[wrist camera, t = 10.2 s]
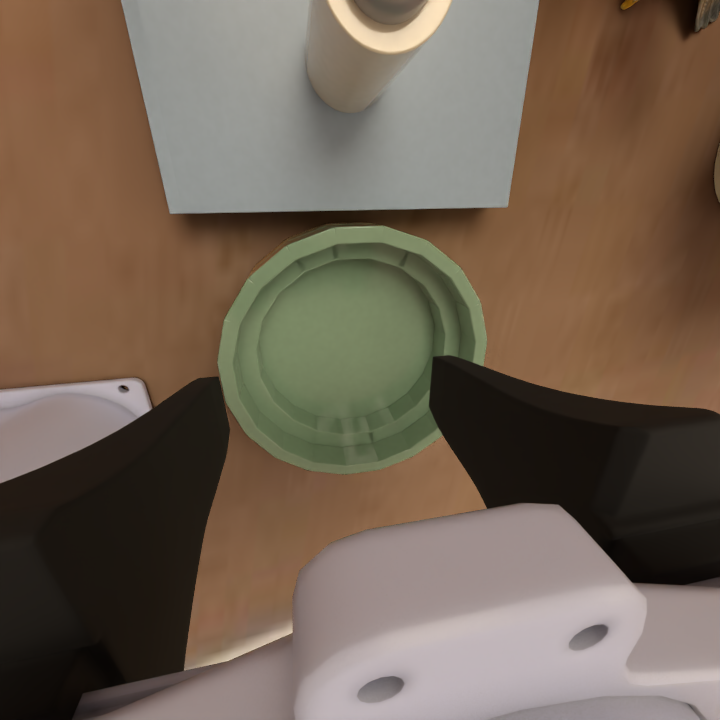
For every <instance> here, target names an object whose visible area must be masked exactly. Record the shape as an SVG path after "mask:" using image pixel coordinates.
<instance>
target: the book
mask: <svg viewBox="0 0 720 720" xmlns="http://www.w3.org/2000/svg"><path fill="white" fill-rule="evenodd" d="M121 2H122V7H123V11H124V15H125V20H126V24H127V29H128V33H129V37H130V42H131V46H132V50H133V55H134V59H135V63H136V68H137V72H138V77H139V81H140V85H141V90H142V94H143V98H144V103H145V107H146V112H147V116H148V120H149V125H150V129H151V133H152V138H153V142H154V146H155V151H156V155H157V160H158V164H159V168H160V173H161V177H162V181H163V186H164V190H165V194H166V199H167V203H168V208H169V212H170V214H194V213H246V212H297V211H349V210H400V209H452V208H503V207H508V201H509V194H510V188H511V181H512V175H513V168H514V162H515V155H516V149H517V142H518V136H519V129H520V123H521V116H522V110H523V103H524V97H525V90H526V84H527V77H528V70H529V64H530V57H531V51H532V44H533V38H534V31H535V25H536V18H537V12H538V5H539V0H452V3H451V5H450V8H449V10H448V12H447V15H446V16H445V18H444V20H443V22H442V24H441V25H440V26H439V28H438V29H437V31H436V32H435V33H434V34H433V35H432V37H431V38H430V39H429V40H428V41H427V43H426V44H425V45H424V46H423V47H422V48H421V50H420V51H419V52H418V53H417V54H416V56H415V57H414V58H413V59H412V60H411V61H410V63H409V64H408V65H407V66H406V67H405V69H404V70H403V71H402V72H401V73H400V74H399V76H398V77H397V78H396V79H395V80H394V82H393V83H392V84H391V85H390V86H389V87H388V89H387V90H386V91H385V92H384V93H383V95H382V96H381V97H380V98H379V99H378V100H377V101H376V102H375V104H373V105H372V106H371V107H369V108H368V109H366V110H364V111H361V112H357V113H344V112H340V111H337V110H335V109H333V108H332V107H330V106H328V105H327V104H326V103H325V102H324V101H323V100H322V99H321V98H320V97H319V96H318V94H317V93H316V92H315V90H314V88H313V87H312V85H311V82H310V80H309V77H308V74H307V71H306V66H305V58H304V49H305V38H306V28H307V17H308V6H309V0H121Z"/></svg>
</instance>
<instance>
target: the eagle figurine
mask: <svg viewBox="0 0 720 720" xmlns="http://www.w3.org/2000/svg"><path fill="white" fill-rule="evenodd" d="M637 1H639V0H625V2H624V3H622V4H621V9H623V10H625V9H627V8H629V7H630V6H632V5H633V4H634V3H636V2H637ZM719 11H720V0H699V4H698V11H697V15H696V19H695V28H694V31H695V32H697V31H698V30H699V29H700V28H702V29H705V28H706V27H707V25H708V23H709V21H710V22H714V21H715V20H716V19H717V18H718V15H719Z"/></svg>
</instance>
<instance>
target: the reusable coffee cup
mask: <svg viewBox="0 0 720 720" xmlns="http://www.w3.org/2000/svg"><path fill="white" fill-rule="evenodd" d="M714 183H715V191H716V194H717V197H718V200H719V202H720V145H719V148H718V152H717V157H716V161H715V171H714Z"/></svg>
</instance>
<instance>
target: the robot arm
mask: <svg viewBox="0 0 720 720" xmlns="http://www.w3.org/2000/svg"><path fill="white" fill-rule="evenodd" d="M121 385H125V386H127V387H128V389H129V390H125V389H123V388H122V387H121ZM429 408H430V411H431V413H432V415H433V418H434V420H435V422H436V424H437V426H438V428H439V430H440V431H441V433H442V435H443V436H444V438H445V439H446V441H447V442H448V444H449V445H450V447H451V448H452V450H453V451H454V453H455V455H456V456H457V458H458V459H459V461H460V462H461V464H462V465H463V467H464V468H465V470H466V471H467V473H468V474H469V476H470V477H471V479H472V481H473V482H474V484H475V486H476V487H477V489H478V491H479V493H480V495H481V497H482V499H483V501H484V503H485V505H486V507H487V509H483V510H477V511H472V512H466V513H460V514H454V515H448V516H443V517H437V518H431V519H425V520H420V521H414V522H408V523H402V524H396V525H391V526H385V527H379V528H373V529H367V530H364V531H361V532H358V533H355V534H353V535H350V536H347V537H344V538H342V539H339V540H336V541H333V542H331V543H330V544H328V545H327V546H326V547H325V548H324V549H323V550H322V551H321V552H320V553H318V554H317V555H316V556H315V557H314V558H313V559H312V560H311V561H310V562H308V563H307V564H306V565H305V566H304V567H303V568H302V569H301V570H300V571H299V575H298V578H297V582H296V586H295V590H294V594H293V633H292V634H289V635H287V636H285V637H282V638H280V639H278V640H275V641H273V642H271V643H269V644H266V645H264V646H262V647H259V648H257V649H255V650H252V651H250V652H248V653H246V654H243V655H241V656H239V657H236V658H234V659H232V660H229V661H227V662H222V663H218V664H213V665H209V666H204V667H200V668H195V669H190V670H186V671H184V663H185V654H186V647H187V639H188V632H189V625H190V618H191V610H192V603H193V597H194V590H195V584H196V578H197V572H198V565H199V560H200V554H201V549H202V543H203V538H204V532H205V528H206V524H207V520H208V516H209V513H210V509H211V506H212V503H213V499H214V496H215V493H216V489H217V486H218V483H219V479H220V476H221V473H222V469H223V466H224V462H225V458H226V454H227V448H228V440H229V432H230V428H229V423H228V418H227V414H226V409H225V404H224V400H223V395H222V390H221V385H220V381H219V376H218V377H207V378H198V379H196V380H194V381H192V382H191V383H189V384H188V385H186V386H185V387H183V388H182V389H180V390H179V391H178V392H176V393H175V394H173V395H172V396H170V397H169V398H168V399H166V400H165V401H163V402H162V403H160V404H159V405H158V406H156V407H155V408H152V405H151V402H150V399H149V396H148V392H147V389H146V386H145V384H144V382H143V381H142V380H141V379H139V378H123V379H111V380H100V381H89V382H78V383H67V384H56V385H45V386H33V387H22V388H11V389H0V720H720V414H718V413H716V412H714V411H711V410H707V409H700V408H685V407H669V406H654V405H643V404H635V403H626V402H618V401H611V400H604V399H598V398H592V397H587V396H581V395H576V394H571V393H567V392H562V391H558V390H554V389H550V388H546V387H543V386H539V385H535V384H532V383H529V382H526V381H523V380H519V379H516V378H513V377H510V376H508V375H505V374H502V373H499V372H497V371H494V370H491V369H489V368H486V367H483V366H481V365H478V364H476V363H473V362H470V361H468V360H465V359H462V358H459V357H455V356H451V355H445V356H434V357H433V359H432V371H431V383H430V395H429Z"/></svg>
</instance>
